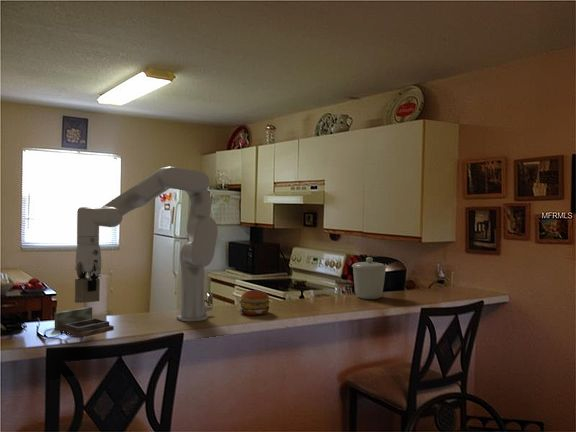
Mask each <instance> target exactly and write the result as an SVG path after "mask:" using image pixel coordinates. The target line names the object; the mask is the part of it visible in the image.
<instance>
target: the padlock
mask: <svg viewBox="0 0 576 432" xmlns="http://www.w3.org/2000/svg"><path fill="white" fill-rule="evenodd" d="M80 274H81V262H79V263H78V264H77V271H76V275H77V278H76V279H74V302H75V304H76V303H77V304H79V303H80V304H81V303H82V304H83V303H84V304H85V303H94V302H100V292H101V291H100V284H101V283H100V282H101V281H100V280H101V279H100V278H99V276H98V277H97V278H98V279H97V288H96V291H91V292H88V281H89V277H86V278H85V279H78V277H80Z"/></svg>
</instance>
